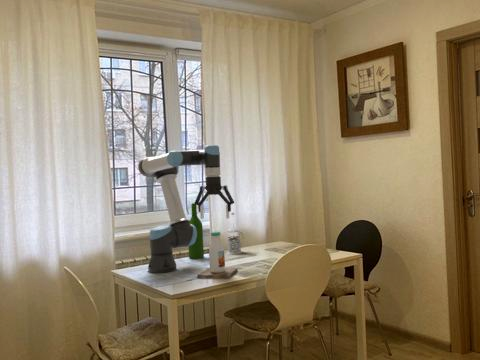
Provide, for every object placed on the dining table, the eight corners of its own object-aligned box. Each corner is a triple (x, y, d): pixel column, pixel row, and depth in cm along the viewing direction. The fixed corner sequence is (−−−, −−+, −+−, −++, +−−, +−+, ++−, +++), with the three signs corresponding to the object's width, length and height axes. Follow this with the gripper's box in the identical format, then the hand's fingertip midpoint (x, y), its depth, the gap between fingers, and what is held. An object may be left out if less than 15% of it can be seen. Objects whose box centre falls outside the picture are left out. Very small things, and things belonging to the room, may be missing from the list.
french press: (224, 252, 305) (222, 212, 304) (240, 250, 310) (239, 211, 309) (230, 254, 296) (228, 213, 295) (247, 252, 301) (245, 212, 300)
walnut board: (197, 278, 240) (197, 275, 240) (208, 270, 255) (208, 267, 255) (228, 278, 235) (228, 275, 235) (237, 271, 251) (237, 268, 251)
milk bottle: (213, 274, 240) (211, 233, 239) (207, 271, 247) (205, 232, 246) (227, 271, 243) (225, 232, 243) (221, 269, 250) (219, 230, 249)
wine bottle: (205, 255, 296) (202, 202, 295) (201, 258, 287) (199, 204, 286) (191, 256, 297) (188, 203, 296) (187, 259, 289) (184, 204, 287)
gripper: (187, 177, 243) (189, 219, 244) (234, 175, 236) (236, 219, 237) (192, 176, 250) (194, 217, 251) (239, 175, 244) (240, 217, 245)
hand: (214, 218), depth 244 cm, fingers open, 13 cm apart
